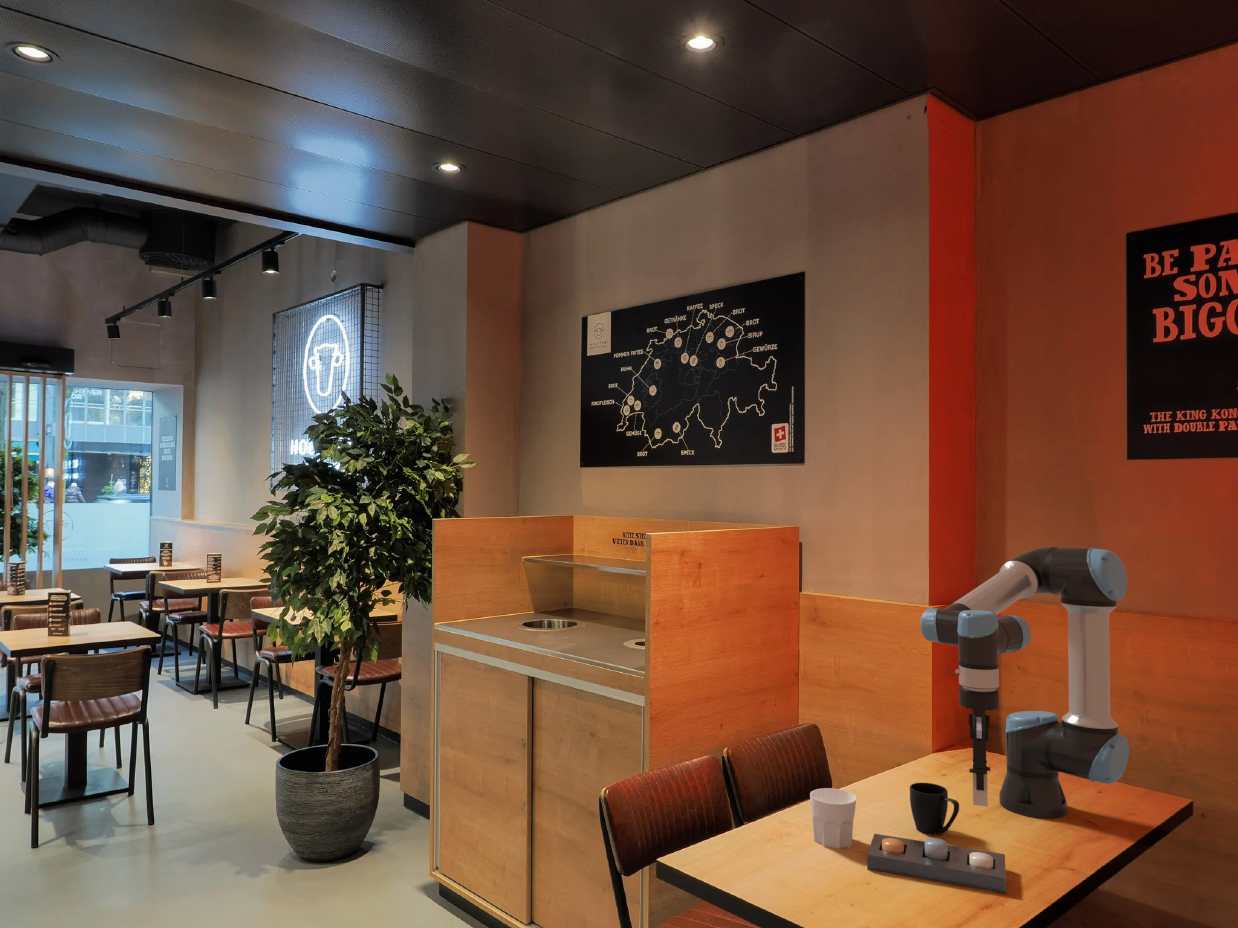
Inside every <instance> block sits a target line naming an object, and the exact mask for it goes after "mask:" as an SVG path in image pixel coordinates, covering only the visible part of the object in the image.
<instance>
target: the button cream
mask: <svg viewBox="0 0 1238 928" xmlns="http://www.w3.org/2000/svg"><path fill="white" fill-rule="evenodd" d="M969 862H970V865H972V866H978V867H984V868H990V869H993V857H992V856H990V855H988V854H986V853H981V852H972V853H970V854H969Z"/></svg>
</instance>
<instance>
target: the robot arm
mask: <svg viewBox="0 0 1238 928" xmlns="http://www.w3.org/2000/svg"><path fill="white" fill-rule="evenodd" d="M1124 565H1125V564H1124V563H1123V561H1122V560H1121V558H1120V557H1119V555H1118V554H1116V553H1115V552H1114V551H1112V550H1108V549H1100V548H1094V547H1090V548H1088V547H1087V548H1086V547H1084V548H1083V547H1059V546H1043V547H1038V548H1035V549H1031V550H1028V551H1026V552H1024V553H1021V554H1019V555H1016V556H1015V557H1013V558H1011V559H1009V560H1008V561H1007V562H1005V563H1004V564H1003V565H1002V566H1001V567H1000V568H999V572H998V573H996V574H995V575H993V576H991V577H990V578H989V579H987V580H986V581H984V582H983V583H982V584H980V585H979V586H977V587H975V588H974V589H972V590H971V591H969V592H968V593H966V594H965V595H964V596H961V598H959V599H957V600H955V601H954V602H953V603H951V604H949V606H947V607H945V608H942V609H941V608H938V607H936V608H933V607H932V608H927V609H925V610H924V612H923V613H922V615H921V617H920V622H919V626H920V632H921V633H920V634H921V635H922V637H923V638H924V639H925V640H927V641H929V642H934V643H938V644H944V645H949V646H957V648H958V668H956V669H955V675H958V684H959V685H961V686H959V688H958V703H959V705H960V706H961V707H963V708H965V709H971V710H972V713H968V726H969V736H970V737H969V738H970V739H971V740H972V768H971V767H970V768H969V769H968V771H969V772H968V773H971V774H972V804H973V805H974V806H981V807H989V806H988V803H989V802H988V800H989V799H988V793H989V792H988V772H991V766H987V764H988V760H987V741H989V728H990V726H991V724H990V723H991V721H990V715H986V711H995V710H997V709H999V707H1000V691H999V690H998V688H1000V675H999V674H1000V669H999V655H1004V654H1010V653H1011V654H1012V653H1017V652H1018V651H1021V650H1024V649H1025V648H1026V647H1027V646H1028V645H1029V644H1030V643H1031V639H1032V630H1031V628H1030V625H1029V624H1028V623H1027V621H1026V620H1024V618H1022V617H1020V616H1018V615H1009V614H1005V615H1002V616H999V614H1001V612H1003V611H1005V610H1006V609H1008V608H1009V607H1010V606H1011V605H1013V604H1014V603H1016V602H1018V601H1019V600H1021V599H1027V598H1030V597H1032V596H1033V595H1036V594H1046V595H1047V594H1051V595H1056V596H1057V595H1058V596H1059V595H1060V605H1062V606H1063V607H1064V609H1066V611H1067V620H1068V621H1067V630H1068V631H1067V639H1068V641H1067V645H1068V646H1067V650H1068V652H1067V654H1068V658H1067V659H1068V711H1067V713H1065V714H1064V715H1063V716H1061V722H1060V721H1059V719H1060V718H1059V716H1058V714H1056V713H1055V712H1051V711H1042V710H1025V711H1024V710H1023V711H1016V712H1012V713H1010V714H1009V715H1007V717H1006V723H1005V731H1004V732H1005V748H1006V749H1005V752H1006V755H1005V756H1006V757H1005V758H1006V774H1005V776H1004V779H1003V781H1002V784H1001V788H1000V791H999V804H1000V805H1001V806H1002V807H1003V808H1005V809H1007V810H1009V811H1011V812H1013V813H1017V814H1019V815H1023V816H1028V817H1034V818H1043V819H1047V818H1049V819H1050V818H1051V819H1054V818H1056V819H1057V818H1061V817H1064V816H1066V815H1067V813H1068V802H1067V799H1066V795H1065V793H1064V790H1063V787H1062V785H1061V781H1060V779H1059V778H1060V777H1059V776H1060V775H1059V774H1060V773H1062V774H1065V775H1070V776H1073V777H1078V778H1081V779H1086V780H1088V781H1090V782H1092V783H1096V782H1097V783H1101V784H1109V785H1110V784H1114V783H1116V782H1117V781H1118V780H1119V779H1120V778H1121V777H1122V775H1123V774H1124V772H1125V770H1126V767H1127V764H1128V760H1129V754H1130V744H1129V742H1128V741H1129V740H1128V737H1126V736H1125V735H1123V734H1121V733H1119V728H1118V727H1119V725H1118V722H1116V721H1115V720H1114V719H1113V718H1112V717H1111V667H1110V666H1111V661H1110V659H1111V658H1110V655H1111V653H1110V650H1111V648H1110V645H1111V644H1110V613H1112V612H1113V611H1114V610H1115V609H1117V601H1121V600H1123V599H1124V597H1125V596H1126V593H1127V592H1126V591H1127V589H1128V577H1127V572H1126V568H1125V566H1124ZM973 805H972V806H973Z"/></svg>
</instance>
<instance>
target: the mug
mask: <svg viewBox="0 0 1238 928" xmlns="http://www.w3.org/2000/svg"><path fill="white" fill-rule="evenodd" d="M948 796H949V794H948V789H947V788H946V787H944V786H942V785H939V784H937V783H932V782H931V783H929V782H915V783H912V784H910V786H909V802H910V810H911V814H912V815H911V816H912V819H913V821H914V825H915V828H916V831H918V832H919V833H921V834H925V835H931V836H933V835H934V836H935V835H940V834H945V833H946V832H948V830H949V829H950V827H951V826H952V824H953V823H954V821H955V820H956V818H957V816H958V814H959V811H960V803H959V801H958V800H956V799H954V798H949V797H948ZM949 803H951V804H952V805H953V811H952V814H951V816H950V818H949V820H948V821H947V823H946V825H945V822H946V817H947V813H948V807H949V805H948V804H949ZM944 825H945V826H944Z"/></svg>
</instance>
